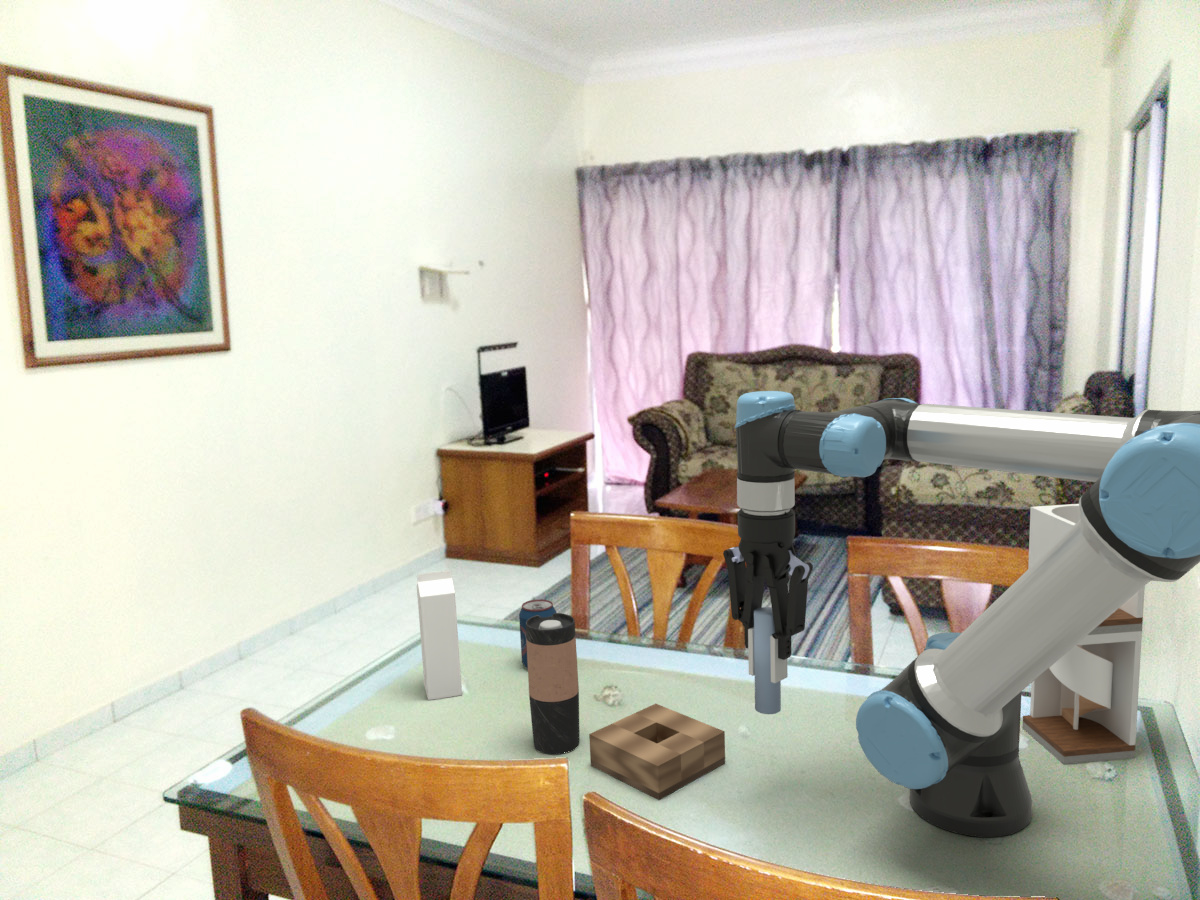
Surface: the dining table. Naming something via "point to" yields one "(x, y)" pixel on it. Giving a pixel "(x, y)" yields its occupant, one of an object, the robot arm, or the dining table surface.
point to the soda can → (529, 610)
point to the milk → (439, 634)
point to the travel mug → (553, 682)
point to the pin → (764, 664)
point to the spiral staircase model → (1087, 671)
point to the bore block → (657, 750)
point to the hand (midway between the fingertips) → (768, 675)
